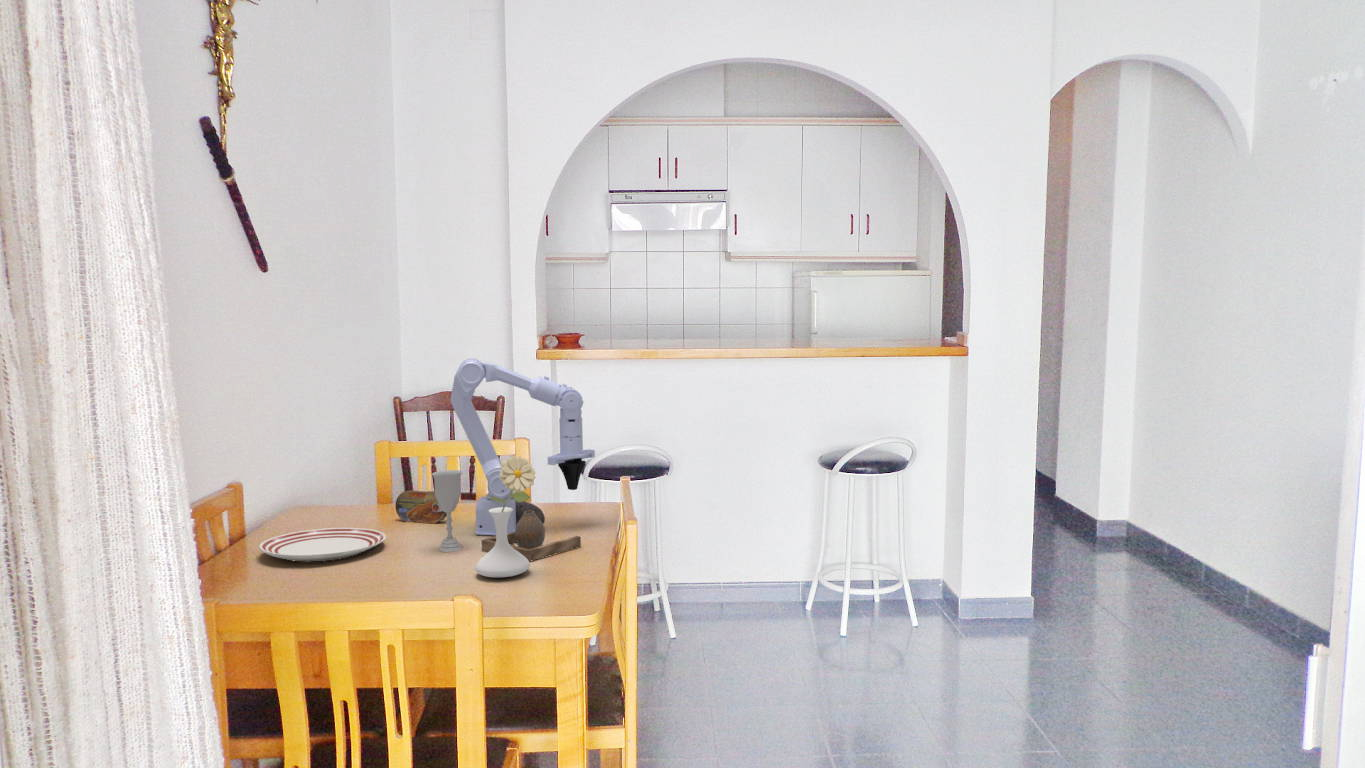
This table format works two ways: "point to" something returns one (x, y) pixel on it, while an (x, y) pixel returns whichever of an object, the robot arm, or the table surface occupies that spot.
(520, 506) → the perforated stone tool
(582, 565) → the table surface
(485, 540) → the tray
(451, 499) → the chalice
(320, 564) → the table surface
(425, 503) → the tin
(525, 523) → the vase
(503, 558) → the flower in vase
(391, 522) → the table surface
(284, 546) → the dinner plate
